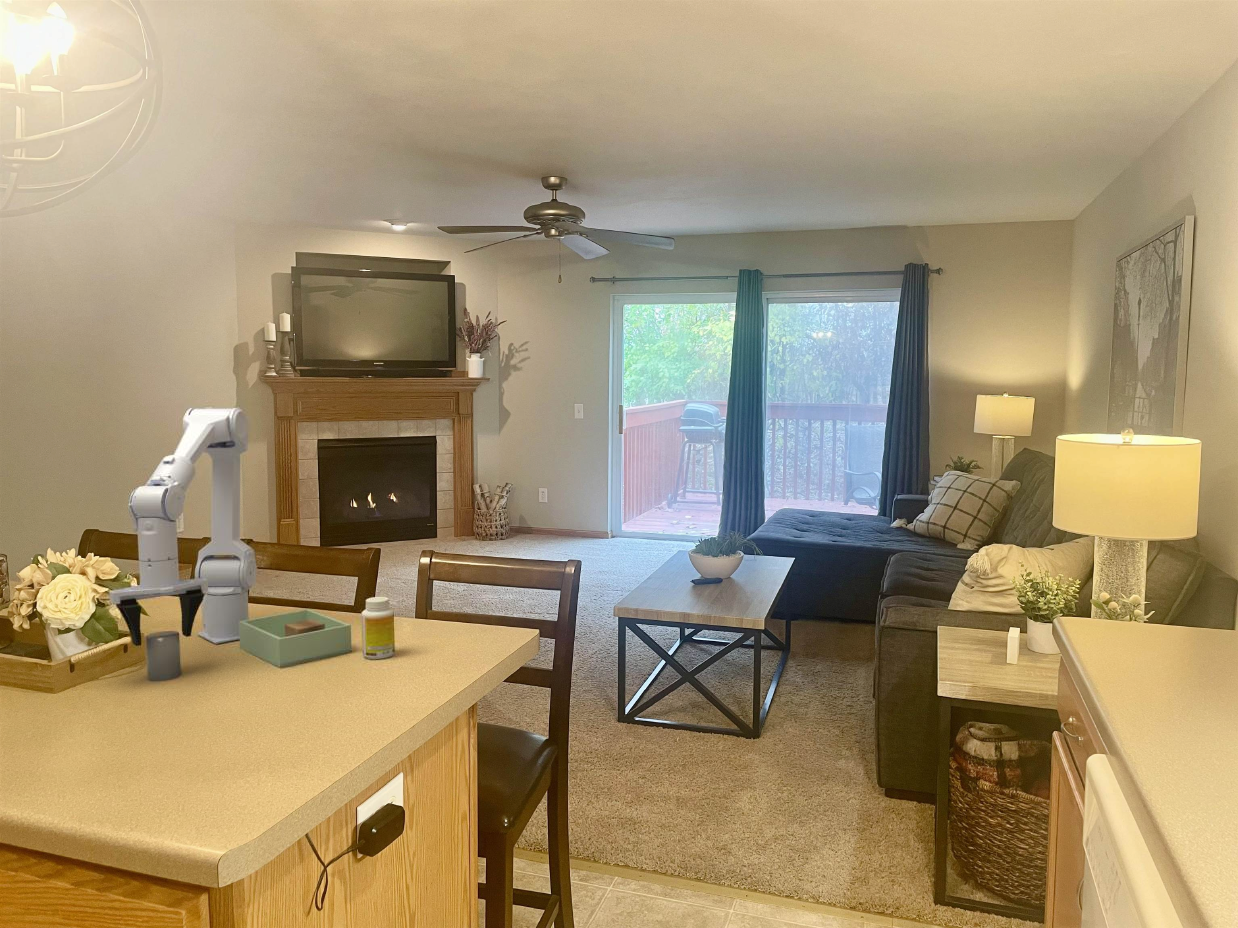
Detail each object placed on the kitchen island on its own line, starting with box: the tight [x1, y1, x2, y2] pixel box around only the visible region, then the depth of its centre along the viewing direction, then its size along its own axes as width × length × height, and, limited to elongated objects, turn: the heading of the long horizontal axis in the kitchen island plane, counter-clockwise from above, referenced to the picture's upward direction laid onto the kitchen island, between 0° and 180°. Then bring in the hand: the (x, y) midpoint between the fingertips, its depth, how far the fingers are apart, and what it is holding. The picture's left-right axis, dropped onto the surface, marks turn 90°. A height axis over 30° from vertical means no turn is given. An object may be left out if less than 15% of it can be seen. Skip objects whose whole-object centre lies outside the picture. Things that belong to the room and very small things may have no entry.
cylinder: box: [144, 630, 182, 682], centre depth 148 cm, size 5×5×7 cm
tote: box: [239, 608, 353, 669], centre depth 162 cm, size 17×13×5 cm
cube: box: [285, 619, 325, 637], centre depth 159 cm, size 5×5×5 cm
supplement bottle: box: [360, 596, 396, 660], centre depth 158 cm, size 6×6×10 cm
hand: (162, 639), depth 147 cm, fingers open, 7 cm apart
